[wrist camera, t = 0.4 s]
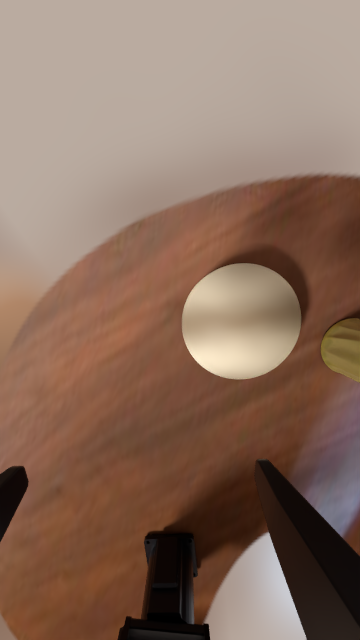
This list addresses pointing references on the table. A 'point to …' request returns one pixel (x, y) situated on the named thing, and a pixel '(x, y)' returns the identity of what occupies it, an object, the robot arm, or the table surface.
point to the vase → (343, 348)
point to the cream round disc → (241, 321)
